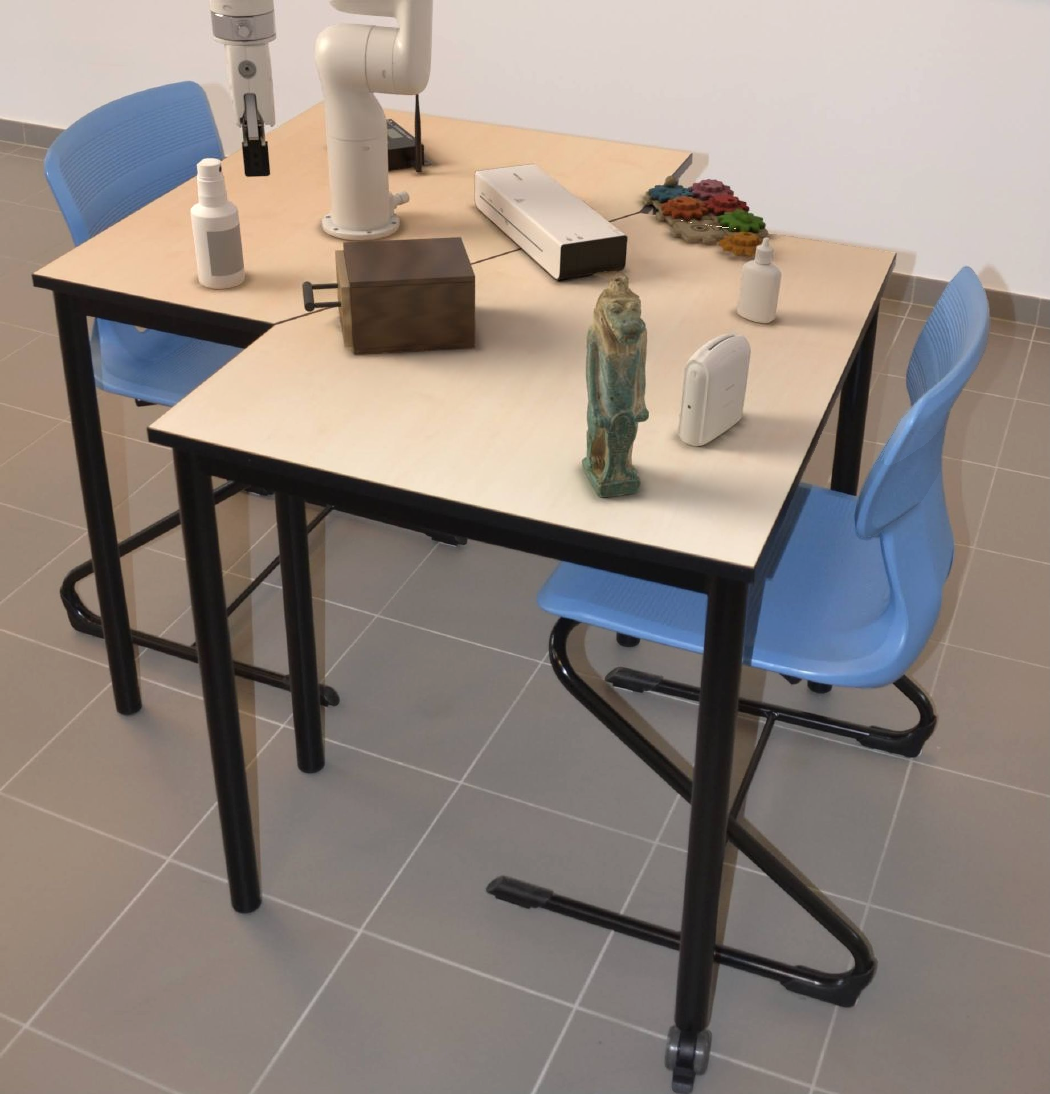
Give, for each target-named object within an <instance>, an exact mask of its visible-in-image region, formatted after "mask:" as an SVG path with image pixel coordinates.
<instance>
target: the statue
mask: <svg viewBox="0 0 1050 1094" xmlns="http://www.w3.org/2000/svg"><path fill="white" fill-rule="evenodd" d="M629 282H630V277H629V276H628V275H626V274H619V275H617V276H614V277H612V278H611V279H610V280H609V284H608V287H606V288H605V289H603V290H602V292H601V293H600V294H599V295H598V298H597V300H596V303H595V307H594V308H593V309H594V310H593V322H592V323H591V324H590V325H589V327H588V330H587V334H586V357H585V382H586V390H587V409H586V425H587V429H586V453H585V454H586V456H585V457H584V458H582V459H581V465H582V469H583V471H584V474H585V475H586V477H587V479H588V480H589V483H590V484H591V487H592V488H593V490H594V491H595V493H596V495H597V496H598V497H599V498H611V497H620V496H625V495H628V494H629V495H630V494H636V493H638V492H639V490H640V487H641V478H640V476H639V473H638V470H637V469H636V468H635V466H634V465H633V458H632V456H633V448H634V442H635V441H636V438H637V434H638V431H639V430H638V429H639V423H645V422H647V420H649V417H650V411H649V410H648V409H647V405H646V399H645V396H646V386H647V380H646V363H647V351H648V349H647V347H648V329H647V324H646V322H645V321H644V320H643V318H641V316H642V300H641V298H640V295H638V294H637V293H635V292H633V291H632V290H631V288H630V287H629V285H630V284H629Z"/></svg>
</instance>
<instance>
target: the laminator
mask: <svg viewBox="0 0 1050 1094" xmlns="http://www.w3.org/2000/svg"><path fill="white" fill-rule="evenodd" d="M474 204H475V207H476V209H477V210H478V211H479V212H480V213H481V214H482V215H483V216H485V218H487V219H488V220H489V221H490V222H491V223H492V224H493V225H494V226H495V227H496V228H497V229H498V230H500V231H501V232H502V233H503V234H504V235H505V236H506V237H507V238H508V239H510V240H511V242H513V243H514V244H515V245H516V246H517V247H518V248H519V249H520V250H522V251H523V252H524V253H525V254H526V255H527V256H528V257H529V258H531V260H533V261H534V262H535V263H536V264H537V265H538V266H540V268H542V269H543V270H544V271H545V272H546V273H547V274H548V275H549V276H550V277H551V278H553V279H554V280H555V281H560V280H565V279H571V278H576V277H585V276H589V275H594V274H602V273H607V272H614V271H624V269H626V263H627V252H628V251H627V250H628V236H627V234H625V232H622V230H620V229H619V228H617V227H616V226H615V225H614V224H612V222H610V221H608V220H607V219H606V218H605V217H603V216H602V215H601V214H600V213H598V212H597V211H595V209H593V208H592V207H590V206H589V205H588V204H587V203H585V201H583V200H582V199H580V198H579V197H578V196H576V195H575V194H574V193H572V191H570V190H569V189H568V188H566V187H565V186H564V185H563V184H561V183H560V182H558V181H557V180H556V179H555V178H553V177H552V176H551V175H550V174H548V173H547V172H545V170H544V169H542V168H540V167H539V166H538V165H536V164H535V163H527V164H520V165H511V166H503V167H495V168H487V169H486V168H485V169H480V170H478V169H477V170H476V171H474Z"/></svg>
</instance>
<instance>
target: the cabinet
mask: <svg viewBox="0 0 1050 1094" xmlns="http://www.w3.org/2000/svg"><path fill="white" fill-rule="evenodd" d="M342 247H343V248H342V250H344V255H345V261H346V267H347V272H348V278H349V284H350V295H351V313H352V331H353V347H352V350H353V355H354V356H358V355H361V356H362V355H375V354H392V353H394V354H395V353H407V352H426V351H442V350H443V351H444V350H459V349H475V348H476V274H475V272H474V268H473V266H472V263H471V261H470V257H469V254H468V252H467V250H466V247H465V243H464V241H463V238H462V236H453V237H429V238H410V239H407V238H406V239H388V240H387V239H386V240H361V241H344V242H342Z"/></svg>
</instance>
